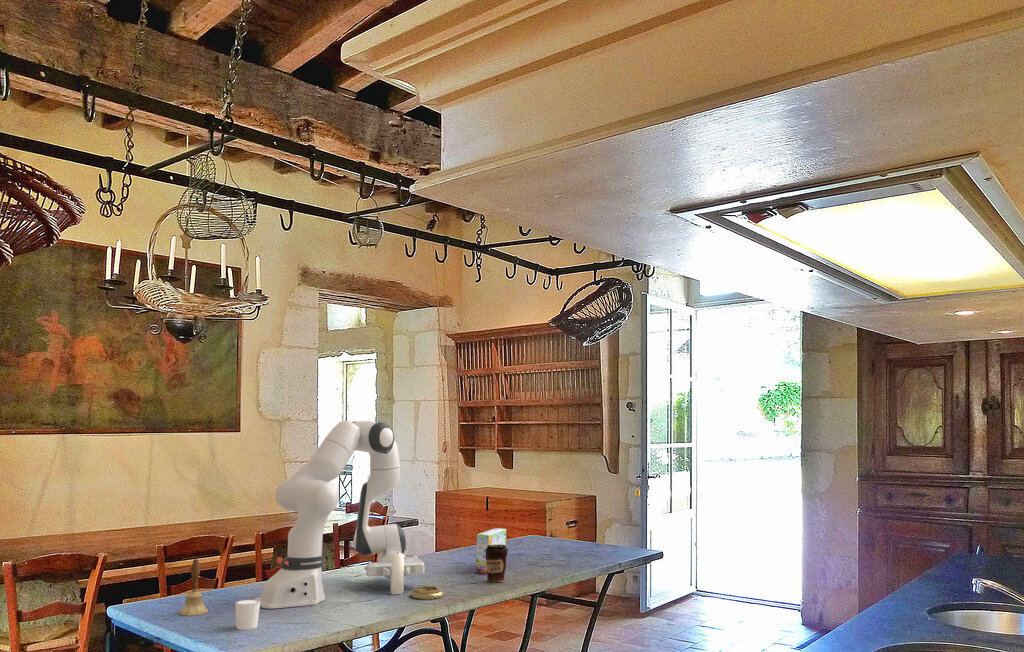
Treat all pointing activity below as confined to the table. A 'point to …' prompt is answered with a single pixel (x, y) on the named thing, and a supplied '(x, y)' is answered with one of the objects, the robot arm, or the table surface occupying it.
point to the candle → (397, 573)
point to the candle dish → (427, 592)
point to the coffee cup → (496, 562)
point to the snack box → (484, 539)
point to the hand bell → (194, 595)
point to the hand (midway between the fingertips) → (397, 572)
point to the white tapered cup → (247, 614)
